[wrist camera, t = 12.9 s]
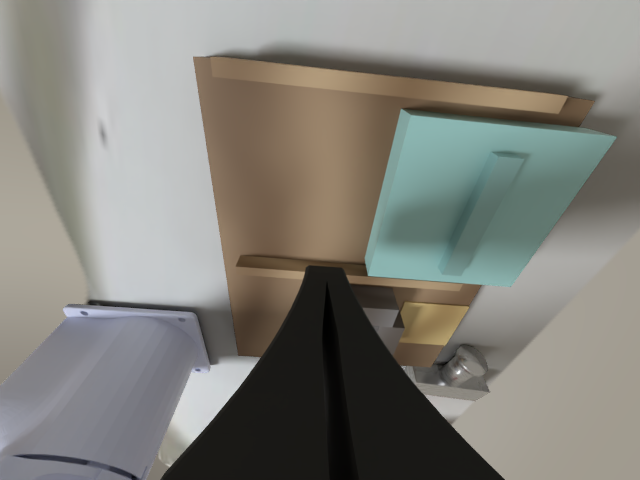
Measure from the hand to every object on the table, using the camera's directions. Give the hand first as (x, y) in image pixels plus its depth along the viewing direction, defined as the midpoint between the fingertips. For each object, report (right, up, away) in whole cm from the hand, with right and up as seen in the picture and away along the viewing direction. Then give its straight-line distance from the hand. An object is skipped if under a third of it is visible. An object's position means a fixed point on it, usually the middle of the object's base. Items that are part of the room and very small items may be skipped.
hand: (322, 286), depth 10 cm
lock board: (+2, +1, +7) cm, 7 cm away
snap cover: (+7, +4, +3) cm, 8 cm away
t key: (+12, -8, +11) cm, 18 cm away
